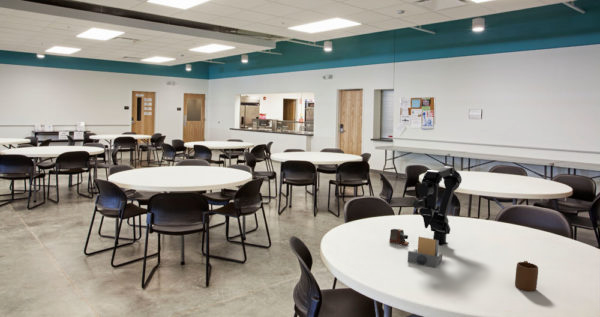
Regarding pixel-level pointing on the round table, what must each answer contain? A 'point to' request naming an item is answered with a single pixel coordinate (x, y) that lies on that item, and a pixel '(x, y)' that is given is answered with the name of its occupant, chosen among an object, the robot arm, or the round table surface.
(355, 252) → the round table surface
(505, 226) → the round table surface
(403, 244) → the electronic device
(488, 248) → the round table surface
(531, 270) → the mug
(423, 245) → the side door
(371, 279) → the round table surface
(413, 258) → the grey cabinet body
